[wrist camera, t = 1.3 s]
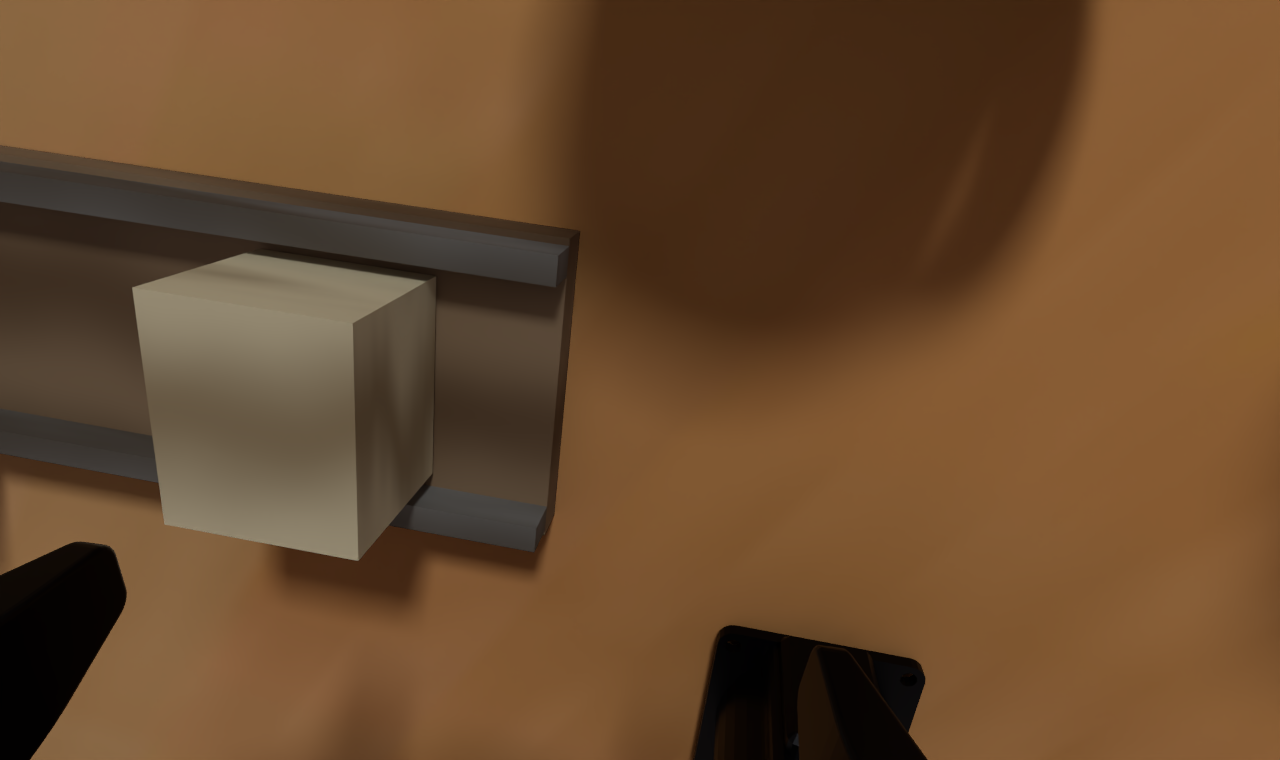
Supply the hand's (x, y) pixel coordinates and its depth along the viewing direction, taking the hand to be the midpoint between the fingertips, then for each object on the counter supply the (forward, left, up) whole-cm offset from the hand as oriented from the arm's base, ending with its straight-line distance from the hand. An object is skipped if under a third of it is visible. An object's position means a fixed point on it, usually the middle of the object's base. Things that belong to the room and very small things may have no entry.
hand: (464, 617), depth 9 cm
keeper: (-2, +7, -11) cm, 13 cm away
